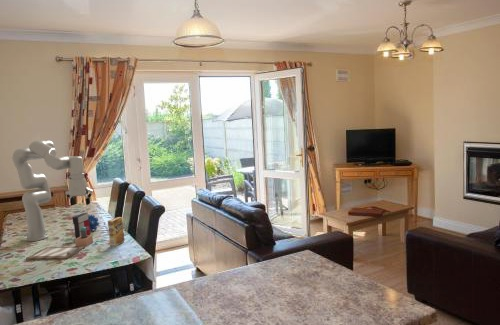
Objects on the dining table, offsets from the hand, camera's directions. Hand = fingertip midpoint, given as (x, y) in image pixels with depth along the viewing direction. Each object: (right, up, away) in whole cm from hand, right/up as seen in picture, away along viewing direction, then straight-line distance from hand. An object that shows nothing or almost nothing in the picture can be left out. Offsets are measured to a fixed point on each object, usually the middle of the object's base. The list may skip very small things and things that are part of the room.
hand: (80, 204), depth 232 cm
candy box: (+23, -24, -2) cm, 33 cm away
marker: (+2, -24, +1) cm, 24 cm away
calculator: (-5, -23, +16) cm, 28 cm away
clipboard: (-7, -27, -14) cm, 31 cm away
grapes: (-6, -22, +30) cm, 37 cm away
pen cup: (+2, -24, +1) cm, 24 cm away
